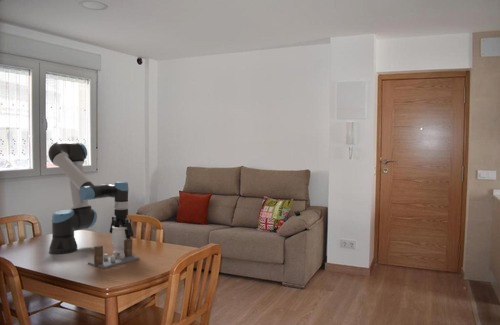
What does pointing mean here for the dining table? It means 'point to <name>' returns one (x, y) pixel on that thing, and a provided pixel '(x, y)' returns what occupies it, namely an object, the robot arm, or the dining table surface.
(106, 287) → the dining table surface
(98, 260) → the frame posts
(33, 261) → the dining table surface
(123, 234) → the jar
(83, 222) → the robot arm
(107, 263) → the peg stand
